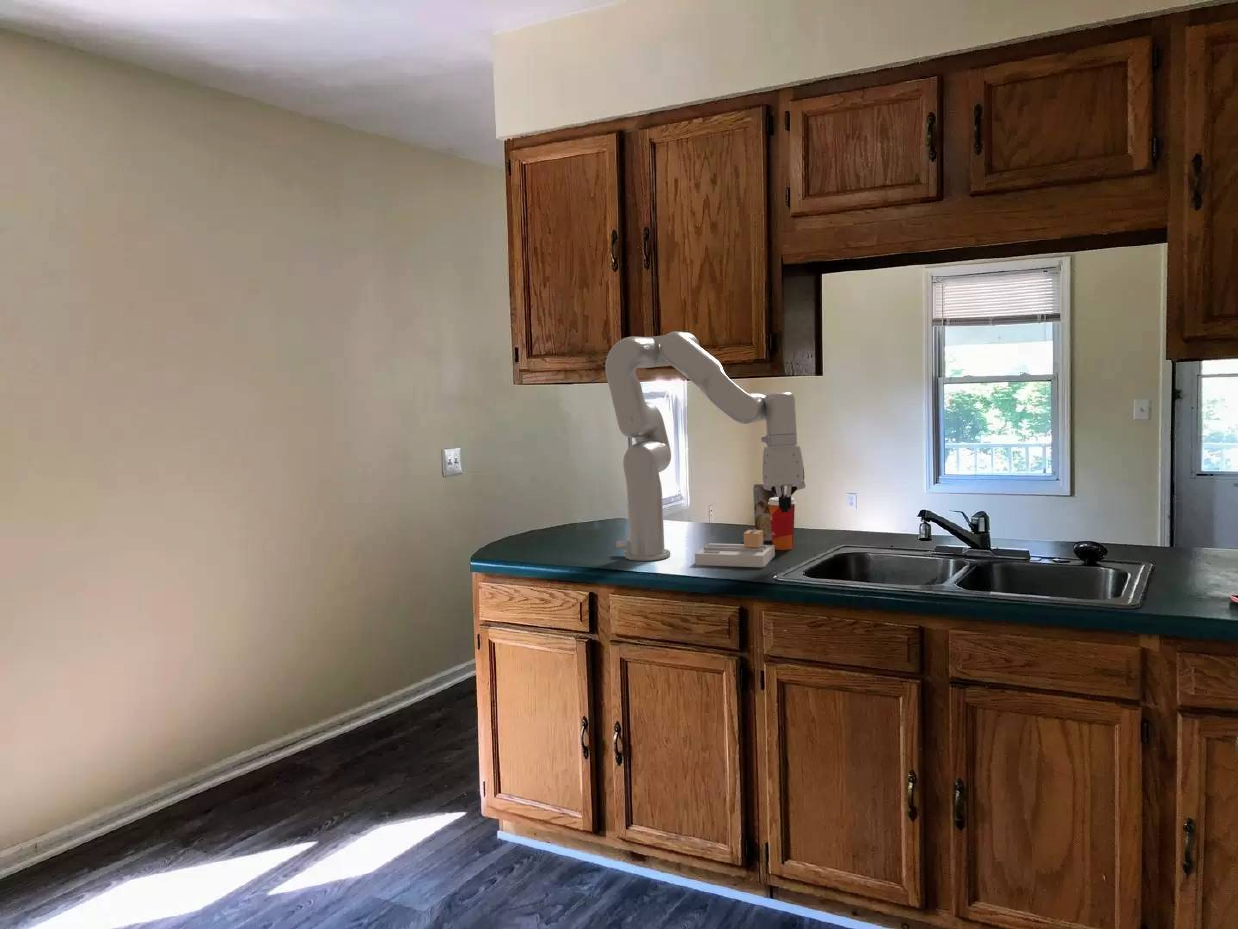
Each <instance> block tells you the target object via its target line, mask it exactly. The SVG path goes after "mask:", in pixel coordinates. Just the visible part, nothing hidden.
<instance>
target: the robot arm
mask: <svg viewBox="0 0 1238 929" xmlns="http://www.w3.org/2000/svg"><path fill="white" fill-rule="evenodd" d="M604 366H605V367H604V368H605V375H606V376H605V377H606V381H607V385H608V386H609V391H610V396H611V401H612V406H613V408H614V412H615V416H616V421H617V425H618V428H619V430H620V433H621V434H623V436H624V437H626V438H631V439H634V440H635V443H633V444H632V445H631V446H629V447H628V448H627V449H626V451H625V453H624V456H623V459H622V460H623V461H622V462H623V464H622V465H623V471H624V472H623V473H624V478H625V483H626V492H627V493H626V494H627V509H628V510H627V511H628V512H627V513H628V532H629V533H628V534H629V539H628V540H626V541H624V540H623V541H622V540H620V541H619V540H617V541H616V543H615V544H616V545H615V546H616V548H617V549H620V550H626V552H624V558H625V559H626V560H630V561H641V562H644V561H645V562H648V561H649V562H651V561H658V560H663V559H664V560H665V559H668V558H669V557H670V556H671V550H669V549H666V548H665V533H664V532H665V530H664V527H665V525H664V508H663V507H664V506H663V503H664V502H663V488H662V482H661V479H660V478H661V477H660V473H661V472H663V471H665V470H666V469H667V468H668V467H669V465H670V464H671V460H672V449H671V445H670V441H669V438H668V434H667V429H666V426H665V422H664V418H663V415H662V413H661V411H660V409H659V408H658V407H657V406H656V405H655V404H653V403H652V402H649V401H646V400H645V397H644V392H643V388H642V384H641V382H640V379H639V378H638V375H637V373H636V372H637V371H636V370H637V369H648V368H649V369H650V368H656V367H657V368H658V367H668V366H672V368H674V369H675V370H677V371H678V372H679V373H680V374H682V375H683V376H684V377H685V378H687V379H688V380H689V381H690V382H692V383H693V385H695V386H696V387H697V388H699V389H700V391H701V392H702V393H703V394H704V395H705V396H706V397H707V398H708V399H709V400H710V402H711V403H712V404H713V405H715V406H716V407H717V408H719V410H720V411H721V412H723V413H724V414H726V415H727V416H728V417H729V418H731V419H732V420H733V421H735V422H736V423H739V424H744V425H746V424H747V425H748V424H751V423H757V422H761V421H765V427H766V435H765V436H762V437H761V439H760V440H761V443H765V444H766V445H767V446H765V447H764V448H763V452H762V453H763V454H762V482H763V483H762V484H764V486H763V488H764V489H766V490H771V491H773V492H774V493H775V494H776V495H777V497H779V509H781V513H784V512H786V513H788V512H789V511H790V509H791V508H792V502H791V497H792V496H793V495H794V493H795V492H796V491H799V490H803V489H806V482H805V467H804V460H803V454H802V449H801V446H800V444H798V435H797V419H796V418H797V417H796V414H797V413H796V398H795V395H794V394H793V393H792V392H789V391H788V392H786V391H784V392H782V391H781V392H771V393H761V392H760V393H759V392H752V393H749V392H746V391H744V390H743V389H742V388H741V387H739V386H738V384H736V383H735V382H734V381H732V380H731V378H729V377H728V375H726V373H725V371H724V368H723V365H722V364H721V362H720V360H718V359H716V358H715V357H714V356H713V355H711V354H710V353H709V352H708V351H706V350H705V349H704V348H702V347H701V345H700V342H699V340H698V339H697V337H696V336H695V335H693V334H692V333H690V332H686V331H670V332H669V333H667V334H664V335H657V336H628V337H623V338H622V339H620V340H618V341H616V343H614V345H613V346H612V347H611V348H610V350H609V351H608V354H607V355H606V358H605V365H604ZM782 486H785V487H786V488H785V496H784V493H783V488H782Z"/></svg>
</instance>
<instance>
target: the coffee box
mask: <svg viewBox="0 0 1238 929" xmlns="http://www.w3.org/2000/svg"><path fill="white" fill-rule="evenodd" d="M763 486H764V483H757V484H754V485H753V489H752V490H753V512H754V513H753V514H754V529H757V530H763V542H772V534H771V523H770V511H769V504H768V502H769V499H770V498H773V497H777V495H776V494H775V493H774V492H773V491H771V490H766V489H764V488H763ZM782 488H783V493H784V496H785V495H786V486H782Z"/></svg>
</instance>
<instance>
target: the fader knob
mask: <svg viewBox="0 0 1238 929" xmlns="http://www.w3.org/2000/svg"><path fill="white" fill-rule="evenodd" d="M743 544H744V547H751V548H756V547H760V546H761V545H764V541H763V530H757V529H755V528H753V529H747V530H746V531H745V532H744V533H743Z"/></svg>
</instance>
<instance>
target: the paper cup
mask: <svg viewBox="0 0 1238 929" xmlns="http://www.w3.org/2000/svg"><path fill="white" fill-rule="evenodd" d="M791 502H792V508H791V509H790V511H789V512H788V513H786V512H784V513H781V509H779V497H773V498H770V499H769V502H768V504H769V511H770V523H771V534H772V541H771V542H772V544H771V545H775V550H778V551H788V550H789V551H790V550H792V549H793V548H794V540H795V538H794V536H795V532H794V531H795V510H796V509H795V507H796V506H795V505H796V504H797V501H795V497H792V496H791Z"/></svg>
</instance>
